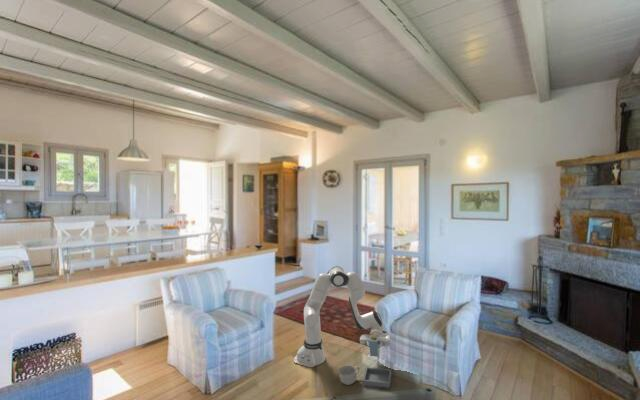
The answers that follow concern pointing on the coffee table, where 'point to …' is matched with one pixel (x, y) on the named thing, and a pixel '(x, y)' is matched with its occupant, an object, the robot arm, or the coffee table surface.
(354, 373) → the teacup
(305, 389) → the coffee table surface
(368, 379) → the tray
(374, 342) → the shaker
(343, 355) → the coffee table surface
